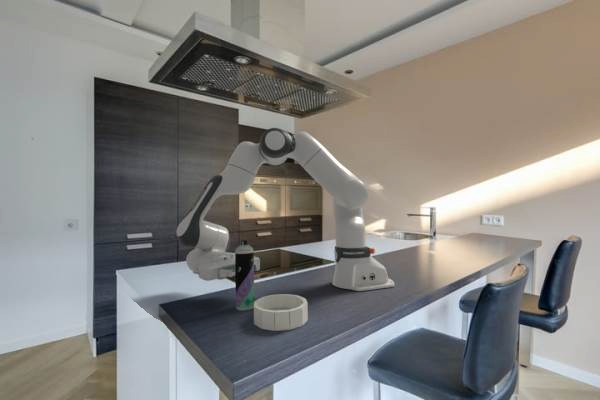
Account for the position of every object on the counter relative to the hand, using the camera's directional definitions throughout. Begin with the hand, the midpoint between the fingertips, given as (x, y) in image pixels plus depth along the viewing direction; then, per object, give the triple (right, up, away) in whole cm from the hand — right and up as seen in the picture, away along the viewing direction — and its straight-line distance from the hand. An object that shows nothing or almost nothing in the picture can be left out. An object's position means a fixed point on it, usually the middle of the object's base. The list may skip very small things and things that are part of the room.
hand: (246, 270), depth 88 cm
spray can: (0, -11, 0) cm, 11 cm away
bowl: (+11, -11, -10) cm, 18 cm away
